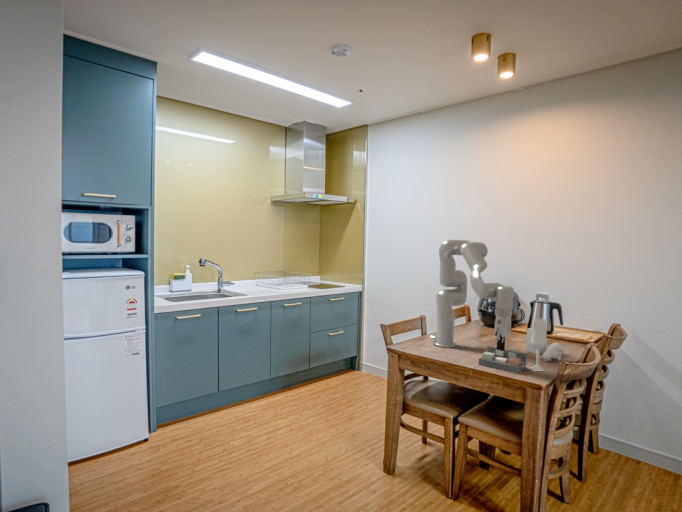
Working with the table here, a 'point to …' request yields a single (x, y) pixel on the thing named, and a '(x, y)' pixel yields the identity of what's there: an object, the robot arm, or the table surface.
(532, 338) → the champagne flute
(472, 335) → the table surface
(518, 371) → the keypad
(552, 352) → the white animal figurine
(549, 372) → the table surface
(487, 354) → the sage key
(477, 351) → the table surface
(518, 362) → the terracotta key
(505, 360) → the off-white key
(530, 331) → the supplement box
